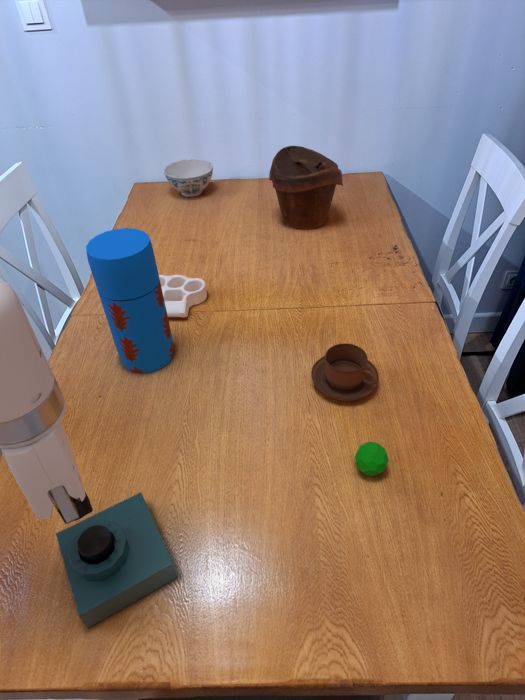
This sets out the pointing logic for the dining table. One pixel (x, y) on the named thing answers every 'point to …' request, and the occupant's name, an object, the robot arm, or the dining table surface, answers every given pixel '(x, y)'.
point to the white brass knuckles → (181, 293)
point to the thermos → (132, 298)
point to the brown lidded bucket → (304, 185)
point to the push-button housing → (117, 561)
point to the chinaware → (189, 176)
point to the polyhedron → (371, 458)
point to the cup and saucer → (345, 373)
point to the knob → (95, 544)
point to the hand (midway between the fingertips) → (78, 512)
